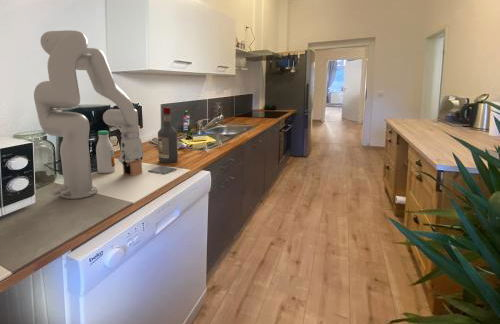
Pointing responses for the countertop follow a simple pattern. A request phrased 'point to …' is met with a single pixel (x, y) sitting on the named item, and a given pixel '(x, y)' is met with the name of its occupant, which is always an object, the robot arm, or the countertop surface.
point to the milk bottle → (105, 153)
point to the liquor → (167, 140)
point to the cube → (134, 167)
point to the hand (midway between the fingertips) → (132, 171)
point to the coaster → (162, 169)
